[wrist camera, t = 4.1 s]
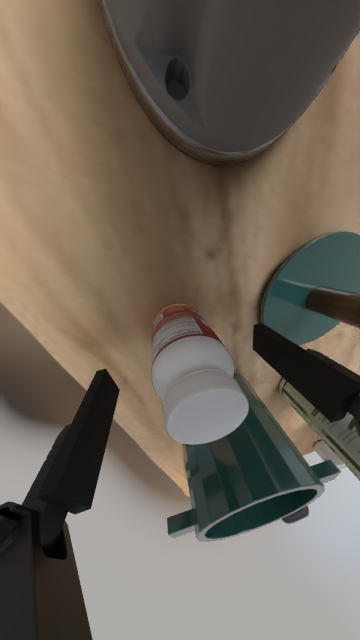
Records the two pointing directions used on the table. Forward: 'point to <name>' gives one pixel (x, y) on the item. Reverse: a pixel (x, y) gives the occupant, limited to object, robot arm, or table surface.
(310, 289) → the lid
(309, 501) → the pot
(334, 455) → the power adapter
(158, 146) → the table surface
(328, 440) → the coffee can
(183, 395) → the pill bottle
